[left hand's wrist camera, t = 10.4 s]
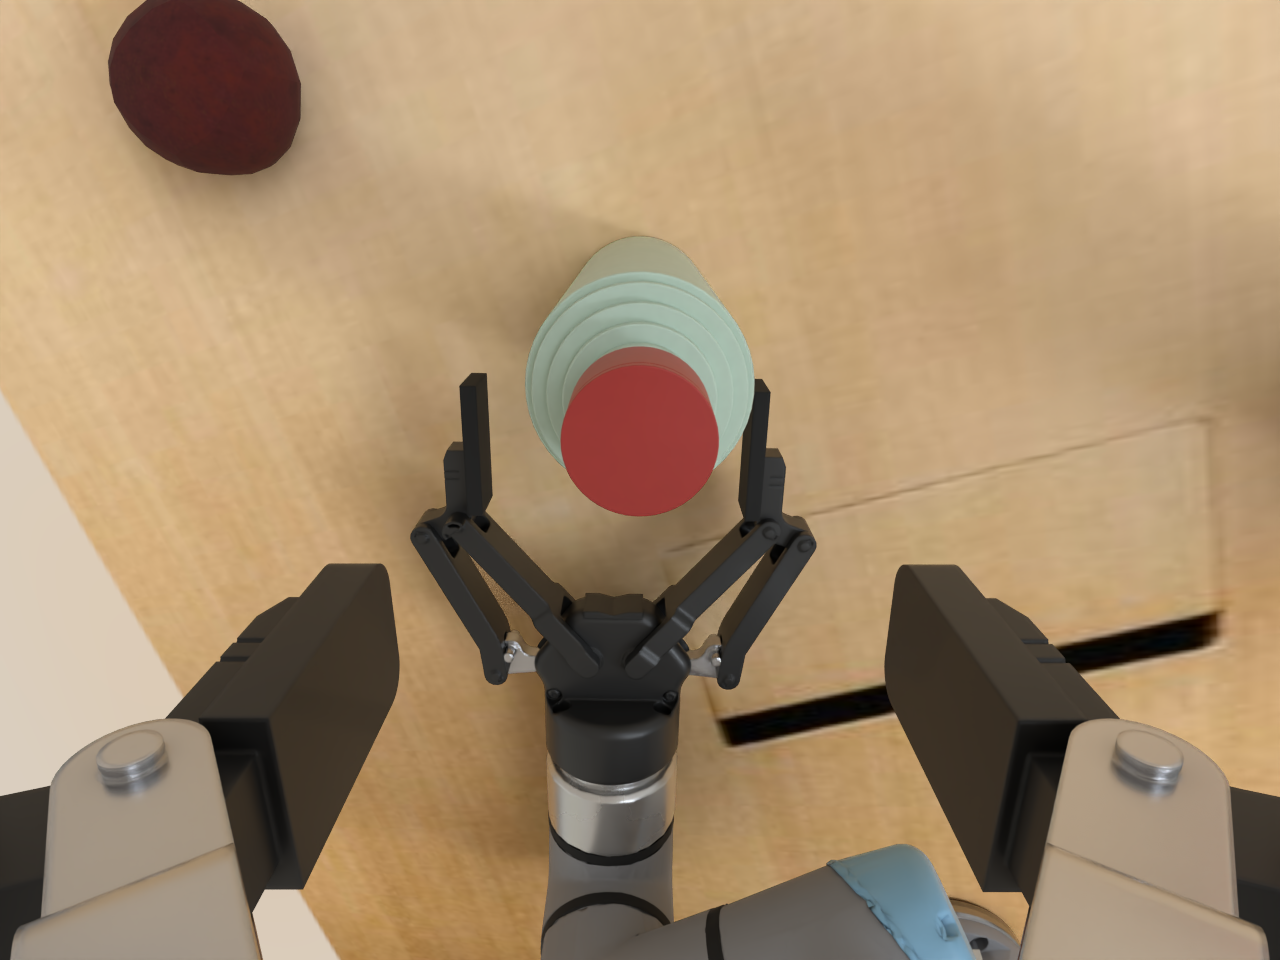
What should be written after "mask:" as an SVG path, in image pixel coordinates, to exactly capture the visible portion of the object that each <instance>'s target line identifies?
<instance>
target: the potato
mask: <svg viewBox="0 0 1280 960" xmlns="http://www.w3.org/2000/svg"><path fill="white" fill-rule="evenodd" d="M108 66H109V81H110V86H111V90H112V94H113V99H114V103H115V104H116V106H117V108H118V109H119V111H120V113H121V114H122V116H123V118H124V120H125V121H126V123H127V125H128V126H129V128H130V129H131V130H132V131H133V132H134V133H135V135H136V136H137V137H138V138H139V139H140V140H141V141H142V142H143V143H144V144H145V146H147V147H148V148H150V149H151V150H153V151H154V152H156V153H157V154H159V155H160V156H162V157H163V158H165V159H166V160H168V161H171V162H173V163H175V164H177V165H179V166H182V167H185V168H188V169H191V170H193V171H196V172H201V173H212V174H222V175H241V174H253V173H255V172H258V171H260V170H263V169H265V168H268V167H270V166H272V165H273V164H275V163H276V162H277V161H278V160H279V159H280V158H281V157H282V155H283V154H284V153H285V152H286V151H287V150H288V149H289V148H290V147H291V144H292V141H293V138H294V135H295V132H296V129H297V127H298V124H299V121H300V107H301V83H300V80H299V76H298V73H297V70H296V67H295V64H294V60H293V57H292V54H291V51H290V49H289V48H288V47H287V45H286V44H285V42H284V41H283V39H282V38H281V37H280V35H279V34H278V32H277V31H276V29H275V28H274V27H273V26H272V24H271V23H270V22H269V21H268V20H267V19H266V18H264V17H263V16H261V15H260V14H258V13H257V12H255V11H254V10H252V9H251V8H249V7H248V6H246V5H245V4H243V3H242V2H240V1H238V0H146V1H145V2H144V3H143V4H141V5H140V6H139V7H138V8H137V9H136V10H134V11H133V12H132V13H131V14H130V15H128V16H127V18H126V19H125V21H124V23H123V24H122V26H121V27H120V29H119V31H118V32H117V34H116V35H115V37H114V38H113V42H112V47H111V51H110V55H109V60H108Z"/></svg>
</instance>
